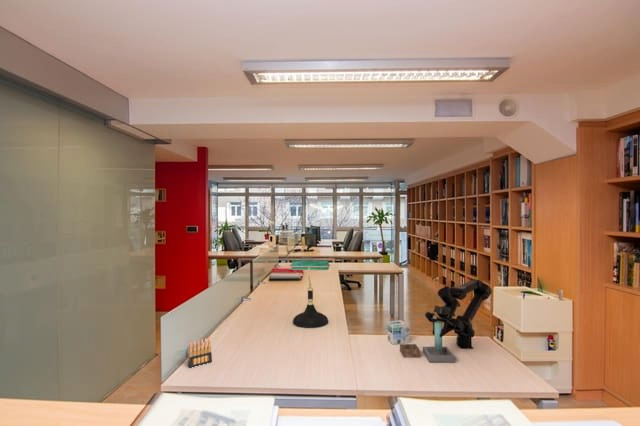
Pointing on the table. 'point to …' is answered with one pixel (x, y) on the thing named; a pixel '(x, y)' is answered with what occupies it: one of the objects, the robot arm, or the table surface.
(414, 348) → the socket block
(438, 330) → the dowel
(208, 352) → the ammunition clip
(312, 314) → the banker's lamp
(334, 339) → the table surface
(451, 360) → the tray
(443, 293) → the robot arm
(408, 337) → the light bulb box
